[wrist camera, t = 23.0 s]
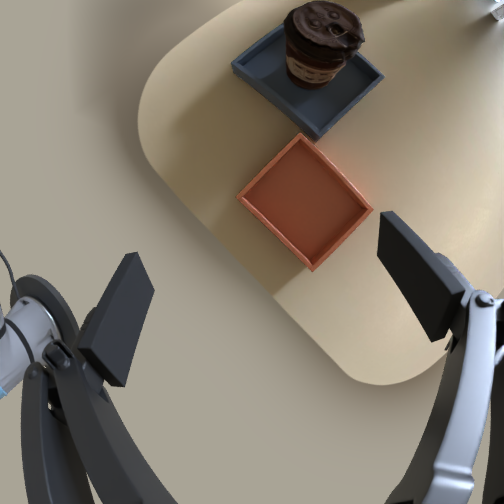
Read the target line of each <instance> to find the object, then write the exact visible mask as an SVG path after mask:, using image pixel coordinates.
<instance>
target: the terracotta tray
mask: <svg viewBox="0 0 504 504" xmlns="http://www.w3.org/2000/svg"><path fill="white" fill-rule="evenodd" d="M236 198H237V199H238V200H239V201H240V202H241V203H242V204H243V205H244V206H245V207H246V208H247V209H248V210H249V211H250V212H251V213H252V214H253V215H254V216H255V217H257V218H258V219H259V220H260V221H261V222H262V223H263V224H264V225H265V226H266V227H267V228H268V229H269V230H270V231H271V232H272V233H273V234H274V235H275V236H276V237H277V238H278V239H279V240H280V241H281V242H282V243H283V244H284V245H285V246H286V247H288V248H289V249H290V250H291V251H292V252H293V253H294V254H295V255H296V256H297V257H298V258H299V259H300V260H301V261H302V262H303V263H304V264H305V265H306V266H307V267H308V268H309V269H310V270H311V271H312V272H313V271H314V270H315V269H316V268H317V267H318V266H320V265H321V264H322V263H323V262H324V261H325V260H326V259H327V258H328V257H329V256H330V255H331V254H332V253H333V252H334V251H335V250H336V249H337V248H338V247H339V246H340V245H341V244H342V242H343V241H344V240H345V239H346V238H347V237H348V236H349V235H350V234H351V233H352V232H353V231H354V230H355V229H356V228H357V227H358V226H359V225H360V224H361V223H362V222H363V221H364V220H365V219H366V217H367V216H368V215H369V214H370V213H371V212H372V211H373V210H374V209H373V208H372V207H371V206H370V204H369V203H368V202H367V201H366V200H365V199H364V197H363V196H362V195H361V194H360V193H359V192H358V191H357V190H356V188H355V187H354V186H353V185H352V184H351V183H350V182H349V181H348V180H347V179H346V177H345V176H344V175H343V174H342V173H341V172H340V171H339V170H338V169H337V168H336V167H335V166H334V165H333V164H332V163H331V162H330V161H329V160H328V159H327V158H326V157H325V156H324V155H323V154H322V153H321V152H320V151H319V150H318V149H317V148H316V147H315V146H314V145H313V144H312V143H311V142H310V141H309V140H308V139H307V138H306V137H305V136H303V134H302V133H299V134H298V135H297V136H296V137H294V138H293V139H292V140H291V141H290V142H289V143H288V144H287V145H286V146H285V147H284V148H283V149H282V150H281V151H280V152H279V153H278V154H277V155H276V156H275V157H274V158H273V159H272V160H271V161H270V162H269V163H268V164H267V165H266V166H265V167H264V168H263V169H262V170H261V171H260V172H259V173H258V174H257V175H256V176H255V177H254V178H253V179H252V180H251V181H250V182H249V184H248V185H247V186H246V187H245V188H244V189H243V190H242V191H241V192H240V193H239V194H238V195H237V196H236Z"/></svg>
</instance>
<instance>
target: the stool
mask: <svg viewBox="0 0 504 504" xmlns="http://www.w3.org/2000/svg"><path fill="white" fill-rule="evenodd" d="M494 1H495V2H497V3H498V2H499V1H501V0H494ZM491 13H492V14H493V16H494V17H495V19H497V20H501V19H503V18H504V4H503V5H501V6H500V7H498V8H497V9H495V10H494V11H492V12H491Z"/></svg>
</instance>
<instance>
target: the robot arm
mask: <svg viewBox="0 0 504 504" xmlns="http://www.w3.org/2000/svg"><path fill="white" fill-rule="evenodd" d="M0 256H1V258H2V259H3V261H4V262H5V264H6V266H7V268H8V271H9V274H10V278H11V282H12V285H13V288H14V291H15V294H16V297H17V299H18V301H17V302H16V303H15V305H14V306H13V307H12V308H11V310H10V311H9V312H8V314H7V315H6V316H5V317H3V313H2V309H1V305H0V399H1V398H3V397H4V396H6V395H7V394H8V393H9V392H10V391H11V390H12V389H13V388H14V387H15V386H16V385H17V384H18V383H19V382H20V381H21V380H23V389H22V404H21V448H22V461H23V471H24V479H25V486H26V492H27V498H28V503H29V504H95V503H94V500H93V496H92V493H91V489H90V486H89V482H88V478H87V474H88V476H89V478H90V480H91V482H92V484H93V486H94V488H95V490H96V492H97V494H98V496H99V498H100V500H101V501H102V503H103V504H178V503H177V502H176V501H175V500H174V498H173V497H172V496H171V495H170V493H169V492H168V491H167V490H166V488H165V487H164V486H163V484H162V483H161V482H160V480H159V479H158V478H157V476H156V475H155V473H154V472H153V470H152V469H151V468H150V466H149V465H148V463H147V462H146V460H145V459H144V457H143V456H142V454H141V452H140V451H139V450H138V448H137V446H136V445H135V443H134V441H133V439H132V438H131V436H130V434H129V433H128V431H127V429H126V427H125V426H124V424H123V422H122V420H121V418H120V416H119V415H118V412H117V411H116V409H115V407H114V405H113V403H112V401H111V399H110V397H109V394H108V392H107V390H106V389H105V388H104V386H103V382H104V379H105V380H106V381H107V382H108V383H109V384H110V385H111V386H116V387H125V384H126V381H127V377H128V373H129V370H130V366H131V363H132V359H133V356H134V353H135V349H136V346H137V342H138V339H139V336H140V332H141V330H142V327H143V324H144V320H145V317H146V314H147V311H148V308H149V306H150V303H151V300H152V297H153V294H154V291H155V290H154V288H153V286H152V284H151V281H150V279H149V277H148V275H147V273H146V270H145V268H144V266H143V264H142V261H141V259H140V257H139V254H138V252H133V253H129V254H125V256H124V258H123V260H122V261H121V263H120V265H119V266H118V268H117V270H116V272H115V273H114V275H113V277H112V279H111V281H110V282H109V284H108V286H107V288H106V290H105V291H104V293H103V295H102V297H101V299H100V301H99V303H98V305H97V307H94V308H93V309H92V310H91V311H90V312H89V313H88V314H87V316H86V319H85V320H84V324H83V325H82V327H81V328H80V331H79V333H78V335H77V337H76V339H75V341H74V343H73V345H72V348H71V350H70V349H69V348H68V347H67V346H66V345H65V343H64V337H63V334H62V331H61V328H60V326H59V324H58V322H57V320H56V318H55V316H54V315H53V313H52V312H51V310H50V309H49V308H48V306H47V305H46V304H45V303H44V302H43V301H42V300H40V299H39V298H37V297H35V296H33V295H26V296H24V297H22V298H20V295H19V293H18V290H17V287H16V284H15V281H14V278H13V273H12V270H11V268H10V265H9V263H8V261H7V260H6V258H5V256H4V255H3V254H2V252H1V251H0ZM377 257H378V258H379V259H380V261H381V262H382V264H383V265H384V267H385V268H386V270H387V271H388V273H389V274H390V275H391V277H392V279H393V280H394V282H395V283H396V285H397V286H398V288H399V289H400V291H401V292H402V294H403V296H404V297H405V299H406V300H407V302H408V304H409V305H410V307H411V308H412V310H413V312H414V313H415V315H416V317H417V318H418V320H419V322H420V324H421V325H422V327H423V329H424V330H425V332H426V334H427V336H428V338H429V339H430V341H431V343H432V342H435V341H437V340H440V339H442V338H445V336H446V334H447V332H448V330H449V328H450V330H451V332H452V333H453V335H452V337H451V338H450V340H449V342H448V344H447V346H446V348H445V350H446V351H447V349H448V347H449V349H448V354H447V358H446V363H445V367H444V371H443V375H442V379H441V382H440V386H439V390H438V393H437V396H436V400H435V403H434V406H433V409H432V412H431V415H430V417H429V420H428V423H427V426H426V428H425V431H424V433H423V436H422V438H421V441H420V443H419V446H418V448H417V450H416V452H415V454H414V457H413V459H412V461H411V463H410V465H409V467H408V469H407V471H406V473H405V475H404V477H403V479H402V480H401V482H400V483H399V484H398V485H397V486H396V488H395V489H394V490H393V491H392V493H391V494H390V496H389V497H388V499H387V500H386V502H385V504H467V502H468V500H469V498H470V496H471V493H472V490H473V487H474V479H473V477H472V476H471V471H472V467H473V465H474V462H475V459H476V455H477V453H478V449H479V446H480V442H481V439H482V435H483V431H484V427H485V423H486V418H487V414H488V408H489V403H490V397H491V431H490V446H489V457H488V465H487V472H486V478H485V485H484V491H483V500H482V504H504V299H494V298H493V297H492V296H491V295H490V294H489V293H488V292H485V291H483V290H475V289H474V288H473V286H472V285H471V284H470V283H469V282H468V280H467V279H466V278H465V277H464V276H463V275H462V273H461V272H459V270H458V269H457V268H456V267H455V266H454V264H453V263H452V262H451V261H450V260H449V259H448V258H447V257H445V256H444V255H442V254H440V253H434V252H433V251H432V250H431V249H430V248H429V247H428V246H427V244H426V243H425V242H424V241H423V240H422V239H421V238H420V237H419V236H418V235H417V234H416V233H415V232H414V231H413V230H412V229H411V228H410V227H409V226H408V225H407V224H406V223H405V222H404V221H403V220H402V219H401V218H400V217H399V216H397V215H396V214H395V213H394V212H393V211H387V212H380V227H379V239H378V249H377ZM45 365H49V367H47V368H44V366H45ZM48 403H49V404H50V405H51V410H50V409H49V408H48ZM86 472H87V474H86Z"/></svg>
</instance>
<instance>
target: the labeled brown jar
mask: <svg viewBox="0 0 504 504" xmlns="http://www.w3.org/2000/svg"><path fill="white" fill-rule="evenodd" d="M361 25H362V24H361V23H360V20H359V18H358V16H357V15H355V14H354V13H353V12H352V11H350V10H349V9H347V8H345V7H344V6H342V5H339V4H337V3H333V2H329V1H313V2H308V3H306V4H304V5H302V6H300V7H297V8H295V9H293V10H292V11H290V12H289V14H288V15H287V17H286V18H285V20H284V33H285V37H286V45H285V46H286V68H287V69H286V73H287V76H288V77H289V79H290V80H291V81H292V83H294V84H295V85H296V86H298V87H301V88H304V89H307V90H316V89H320V88H322V87H324V86H326V85H328V83H329V82H330V81H331V80H332V79H333V78H334V77H335V75H336V73H337V72H338V71H339V70H340V69H341V68H343V67H344V66H345V65H346V61H347V60H349V59H351V58H353V57H354V56H355V54H356V53H357V51H358V49H359V48H360V46H361V44H362V43H363V42H365V38H364V34H363V29H362V28H361V27H362V26H361Z"/></svg>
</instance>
